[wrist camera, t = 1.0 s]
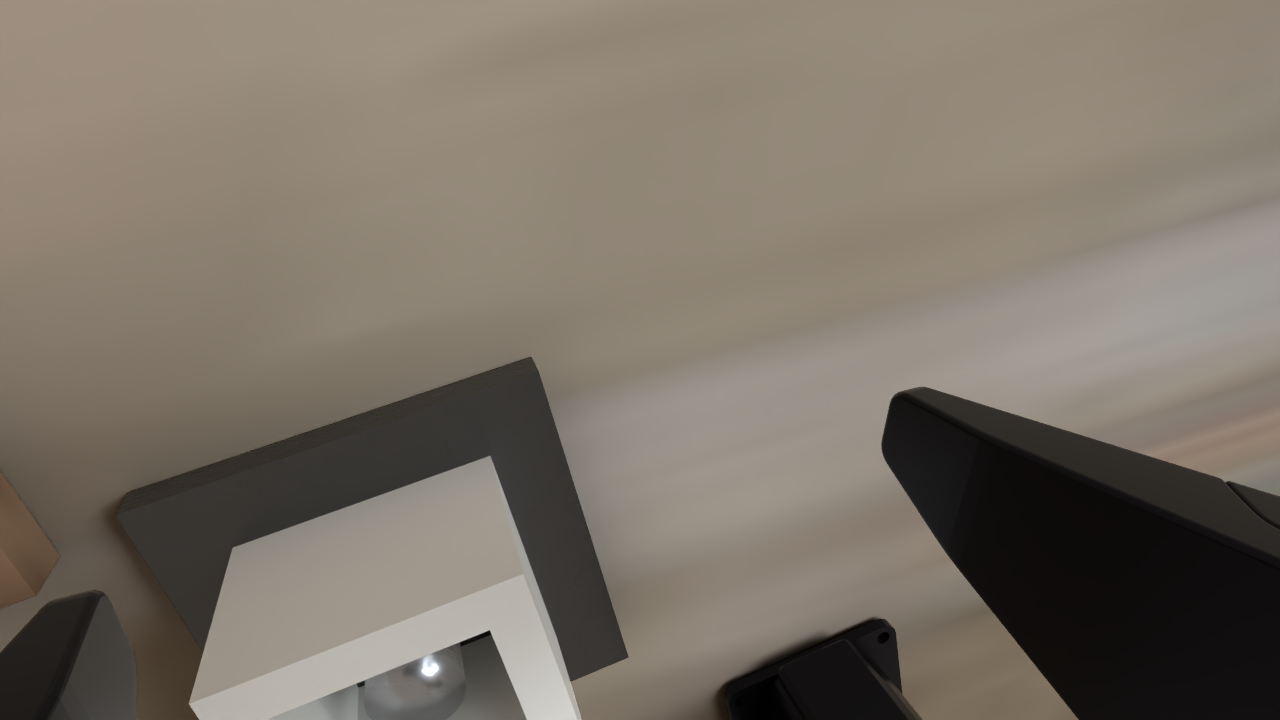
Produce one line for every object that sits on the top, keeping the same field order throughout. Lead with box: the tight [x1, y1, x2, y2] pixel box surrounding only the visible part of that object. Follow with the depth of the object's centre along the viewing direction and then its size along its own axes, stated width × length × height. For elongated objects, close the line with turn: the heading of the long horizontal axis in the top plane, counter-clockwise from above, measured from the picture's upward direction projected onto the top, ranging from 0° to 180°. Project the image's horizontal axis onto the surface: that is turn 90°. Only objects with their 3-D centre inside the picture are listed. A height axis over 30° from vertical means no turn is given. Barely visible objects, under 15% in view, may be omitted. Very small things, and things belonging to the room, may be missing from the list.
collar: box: [189, 456, 582, 720], centre depth 18 cm, size 6×6×5 cm
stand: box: [116, 357, 628, 720], centre depth 20 cm, size 10×10×4 cm
